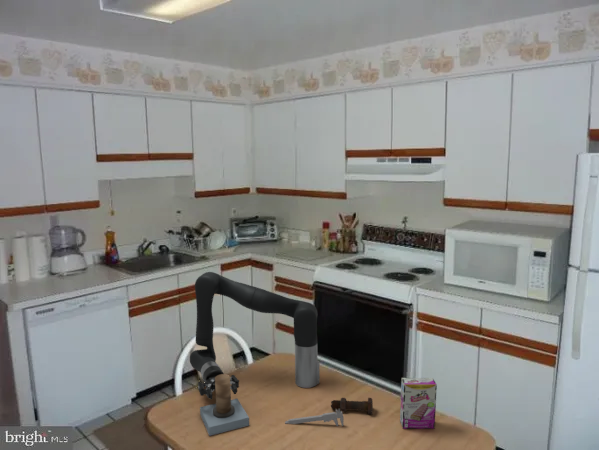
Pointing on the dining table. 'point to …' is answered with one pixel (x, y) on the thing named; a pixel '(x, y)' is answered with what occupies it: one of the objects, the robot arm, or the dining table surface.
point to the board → (224, 419)
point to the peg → (223, 397)
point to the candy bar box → (418, 403)
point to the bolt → (353, 405)
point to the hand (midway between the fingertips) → (223, 394)
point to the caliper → (319, 418)
